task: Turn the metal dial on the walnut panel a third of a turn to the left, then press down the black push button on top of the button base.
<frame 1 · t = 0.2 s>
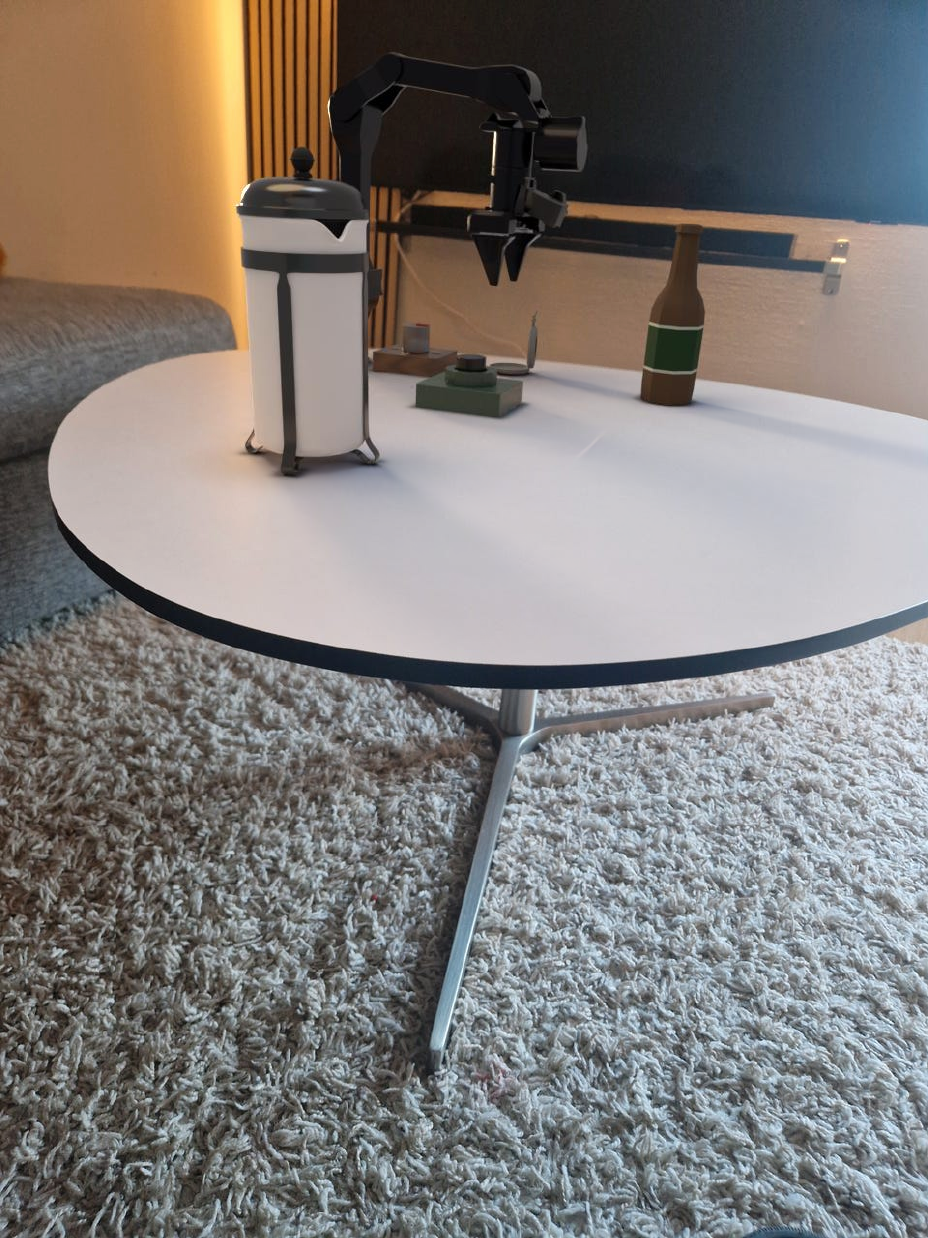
hand: (504, 283, 136), 14 cm above the table, tool pointing down, fingers open, 9 cm apart
dial: (416, 336, 144), point 5 cm above the table, hinge at 0.0°
pocket watch: (515, 374, 148), on the table
button base: (469, 405, 124), on the table
dial panel: (415, 369, 146), on the table
coffee press: (304, 456, 98), on the table
push button: (471, 363, 122), point 6 cm above the table, slide at 0.1 cm
beer bottle: (665, 401, 133), on the table
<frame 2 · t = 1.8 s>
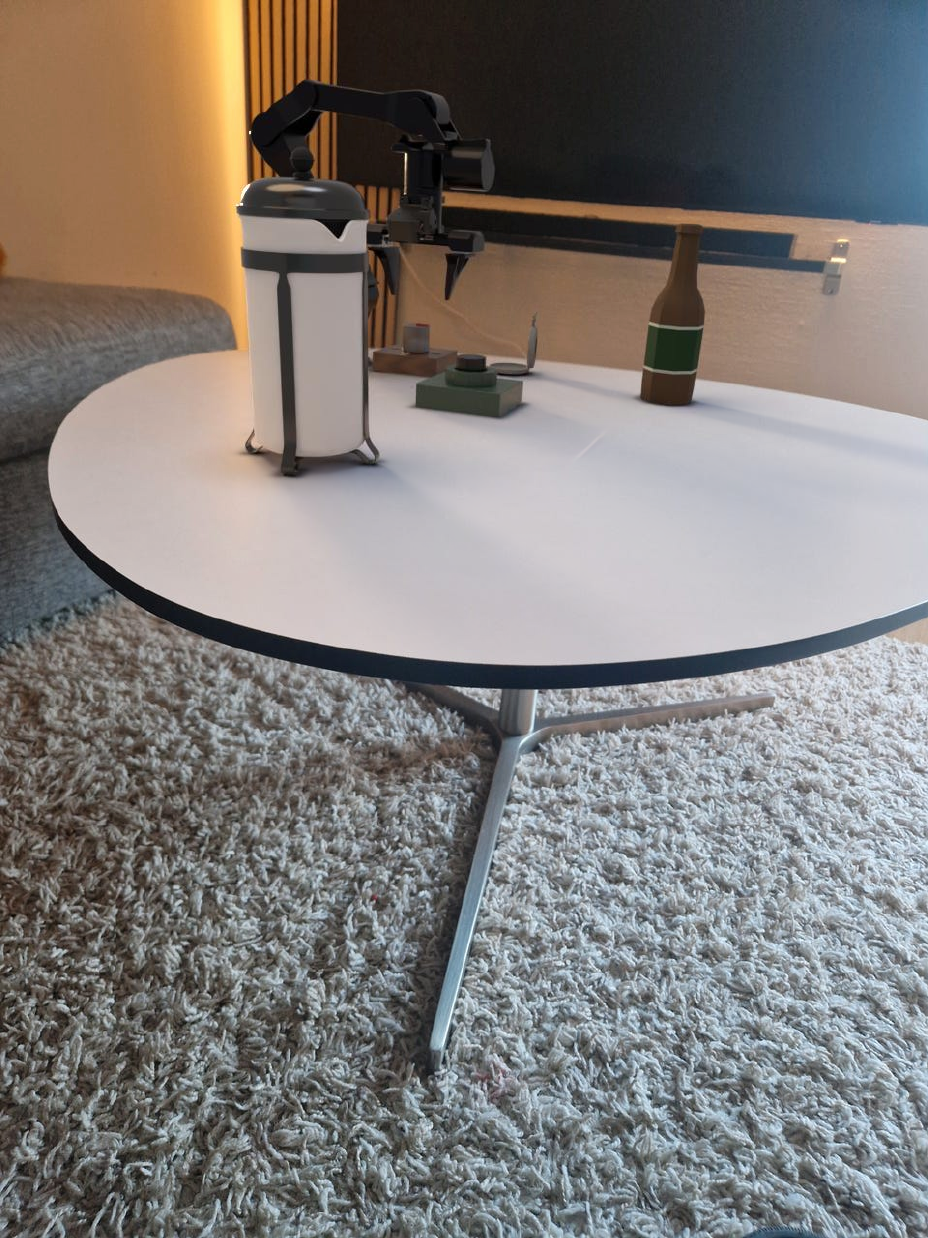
hand: (420, 297, 141), 11 cm above the table, tool pointing down, fingers open, 9 cm apart
nothing on the table moved.
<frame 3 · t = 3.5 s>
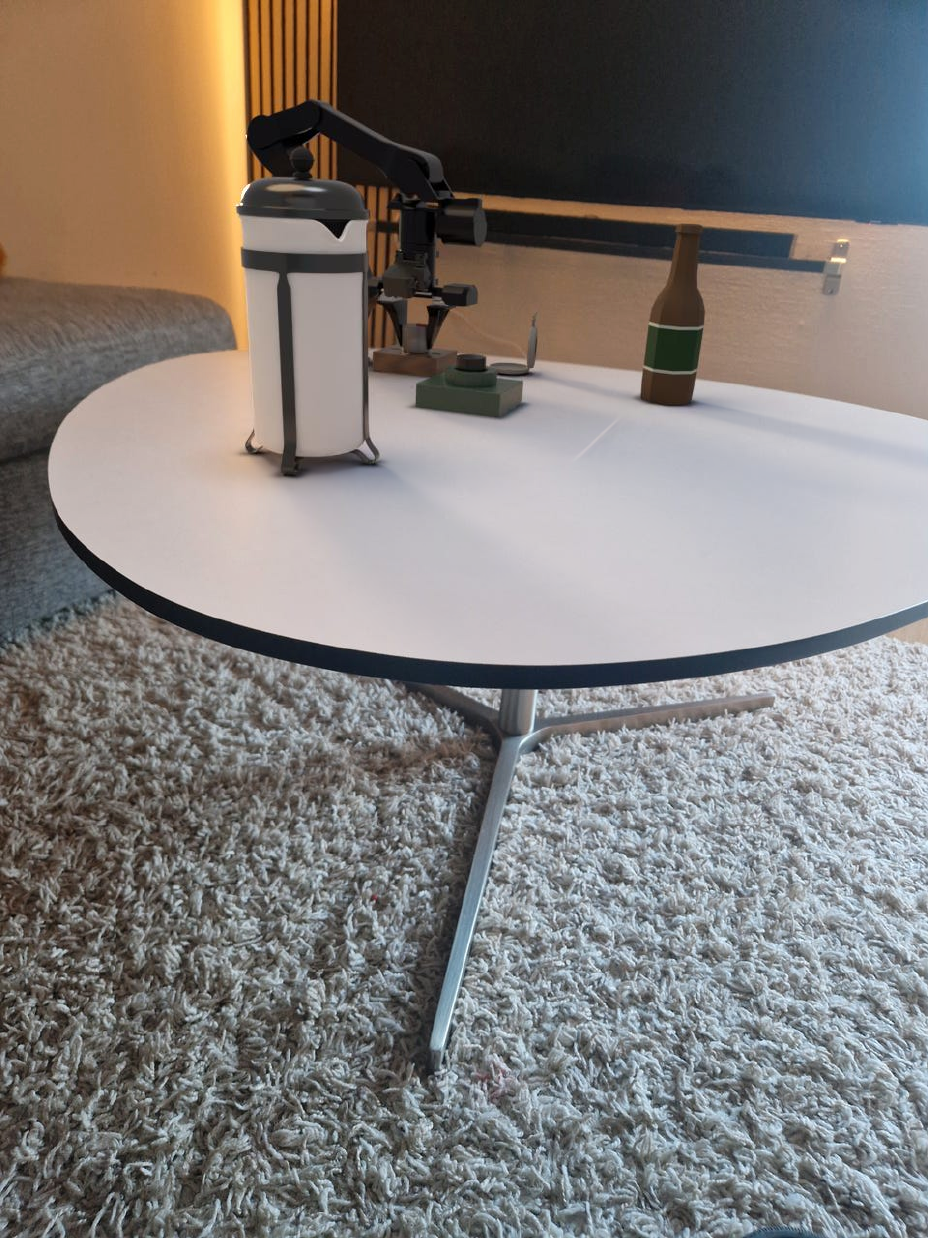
hand: (415, 347, 145), 4 cm above the table, tool pointing down, fingers closed on dial, 4 cm apart
dial: (416, 336, 144), point 5 cm above the table, hinge at 0.0°, touching gripper
everything else where it was.
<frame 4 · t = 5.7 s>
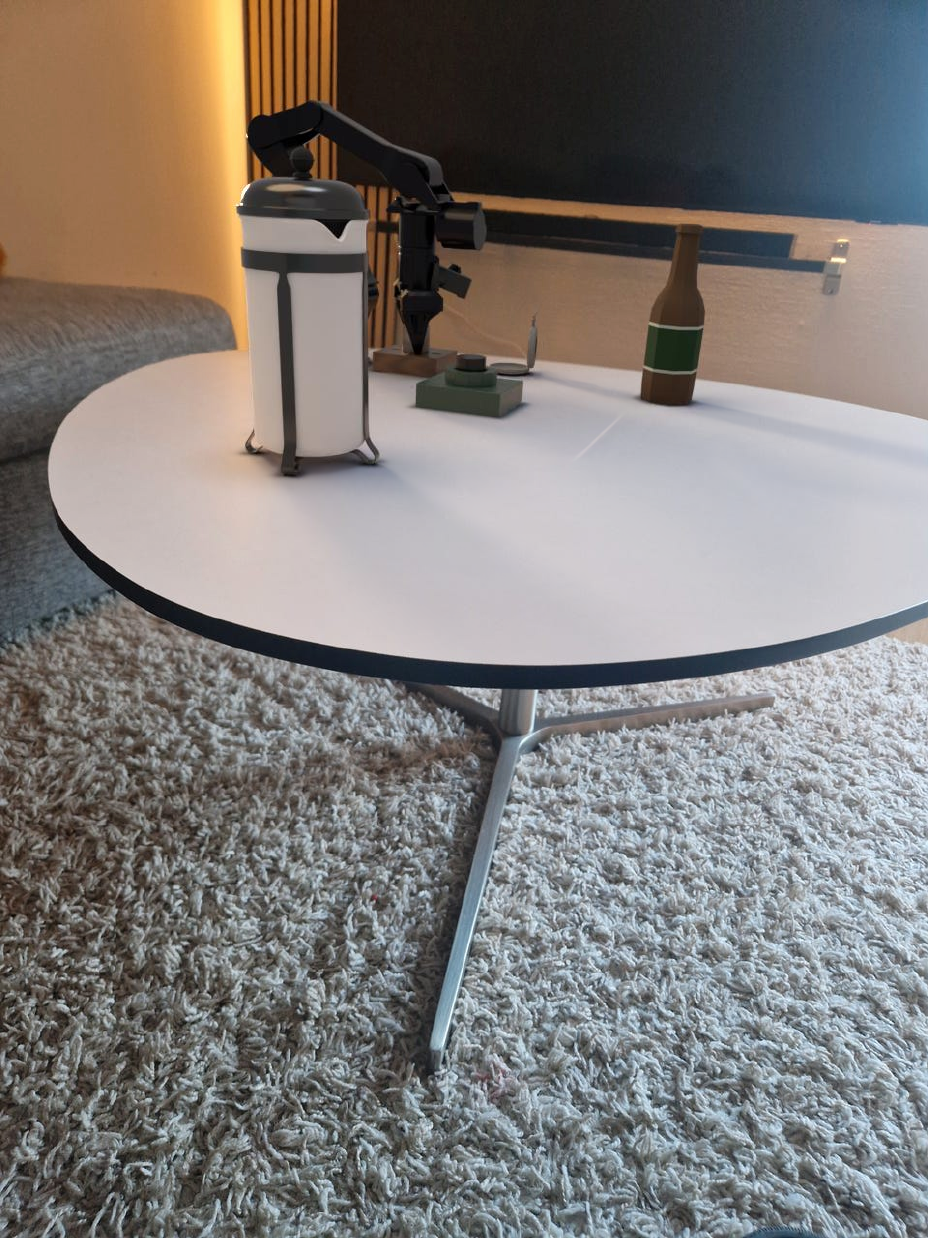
hand: (415, 350, 145), 3 cm above the table, tool pointing down, fingers open, 6 cm apart
dial: (416, 336, 144), point 5 cm above the table, hinge at 120.6°
everything else where it was.
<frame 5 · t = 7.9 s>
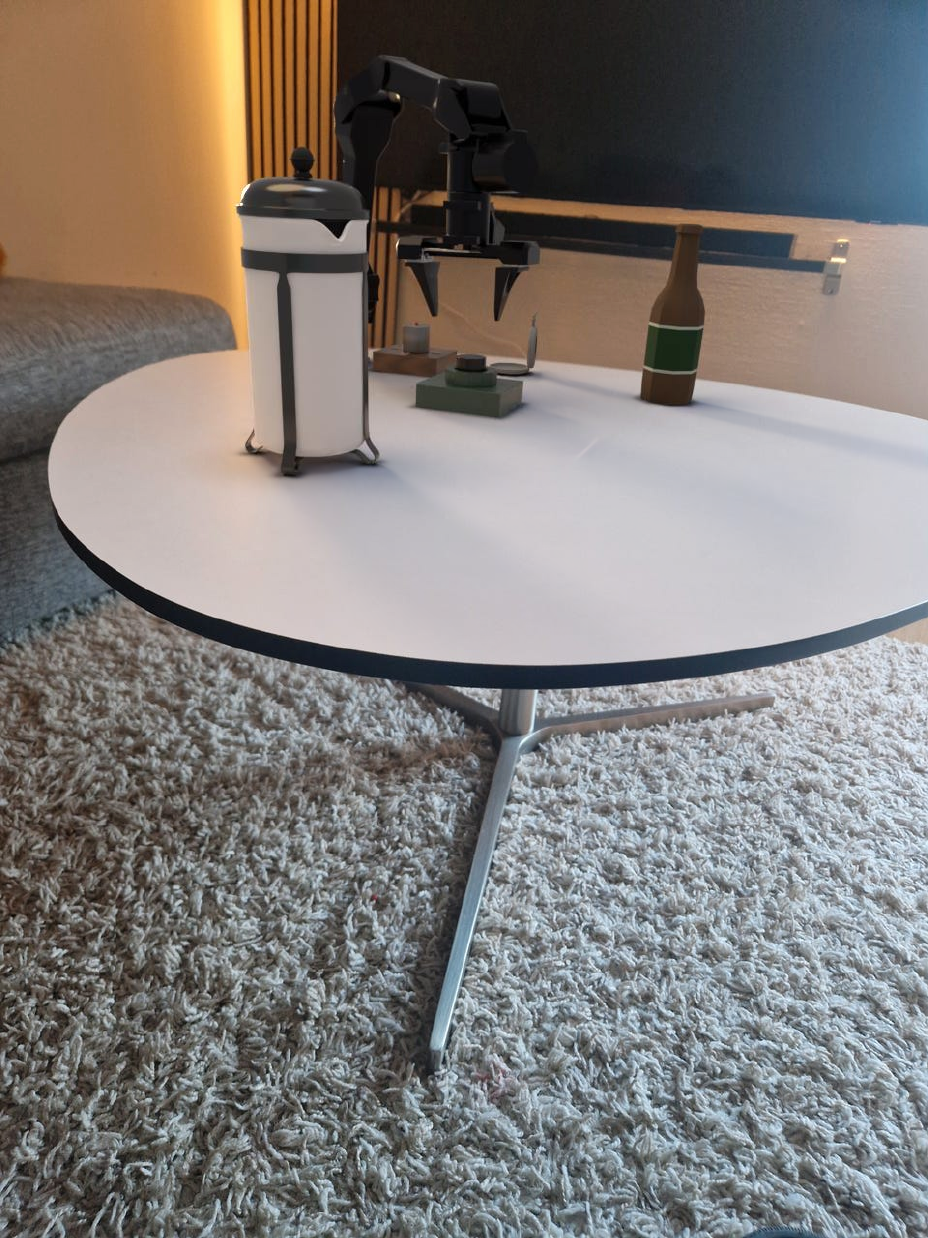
hand: (465, 318, 123), 11 cm above the table, tool pointing down, fingers open, 9 cm apart
nothing on the table moved.
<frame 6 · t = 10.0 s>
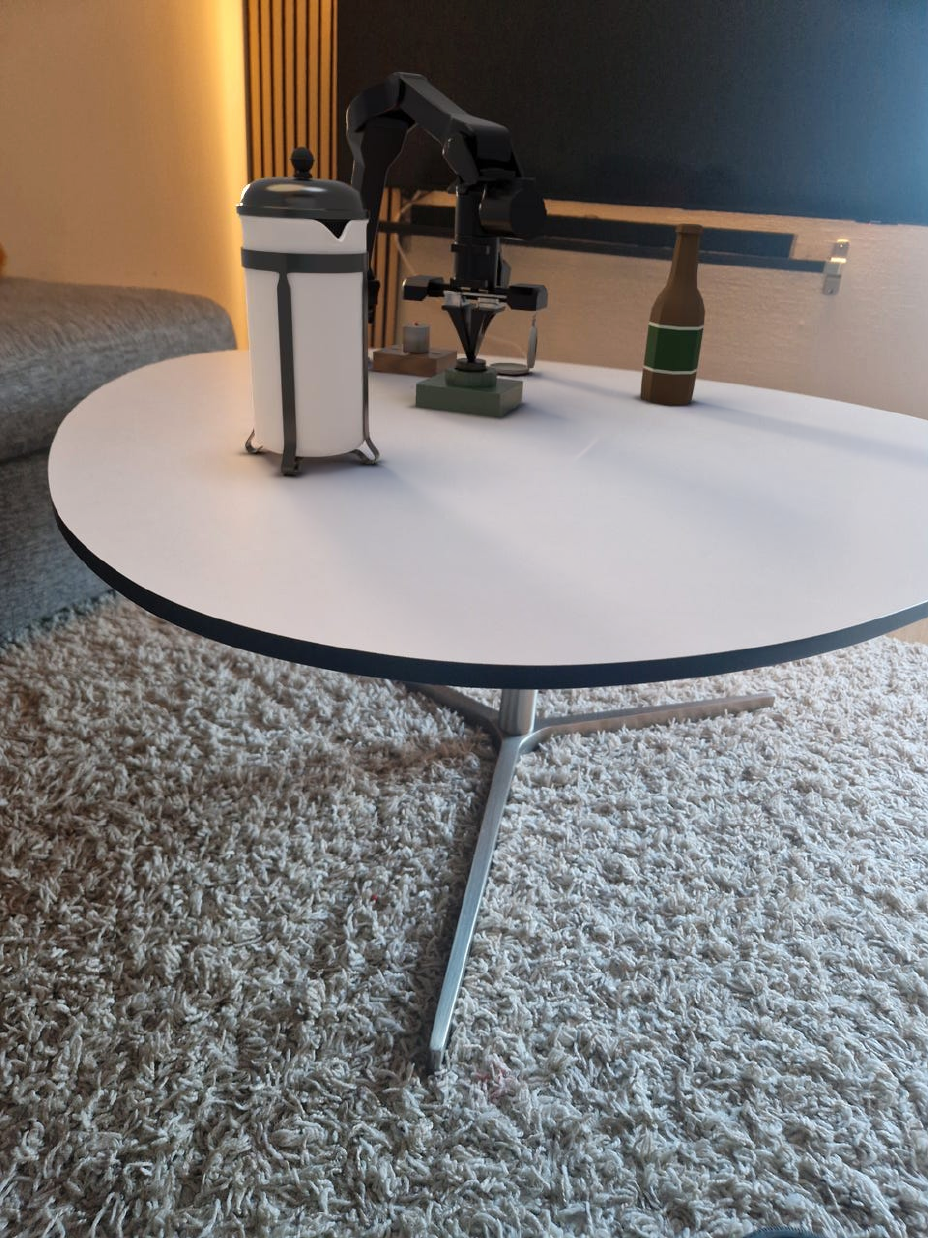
hand: (471, 360, 121), 6 cm above the table, tool pointing down, fingers closed, pressing on push button
push button: (471, 367, 122), point 5 cm above the table, slide at -0.4 cm, touching gripper
everything else where it was.
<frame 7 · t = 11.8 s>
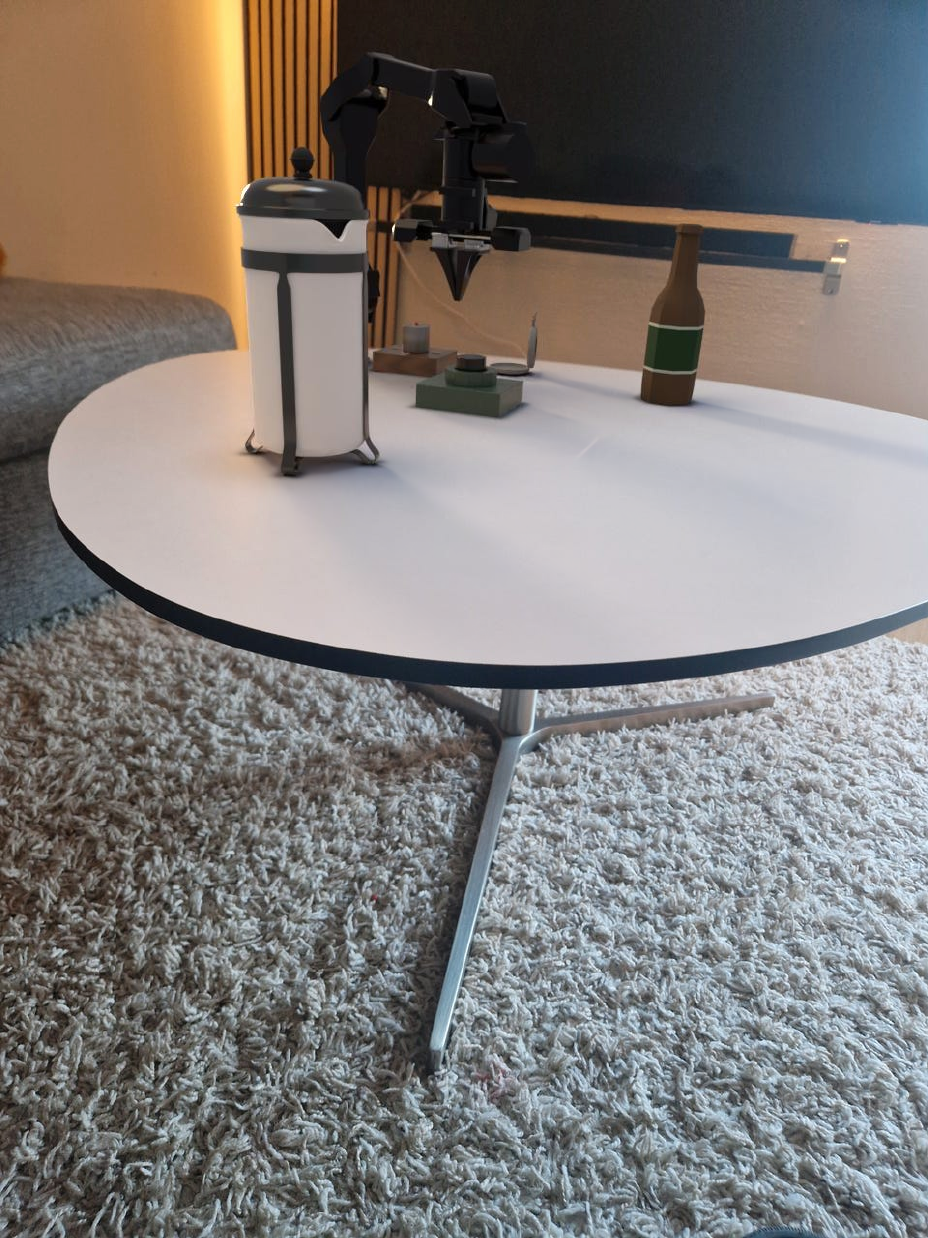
hand: (457, 300, 128), 13 cm above the table, tool pointing down, fingers closed
push button: (471, 363, 122), point 6 cm above the table, slide at 0.1 cm
everything else where it was.
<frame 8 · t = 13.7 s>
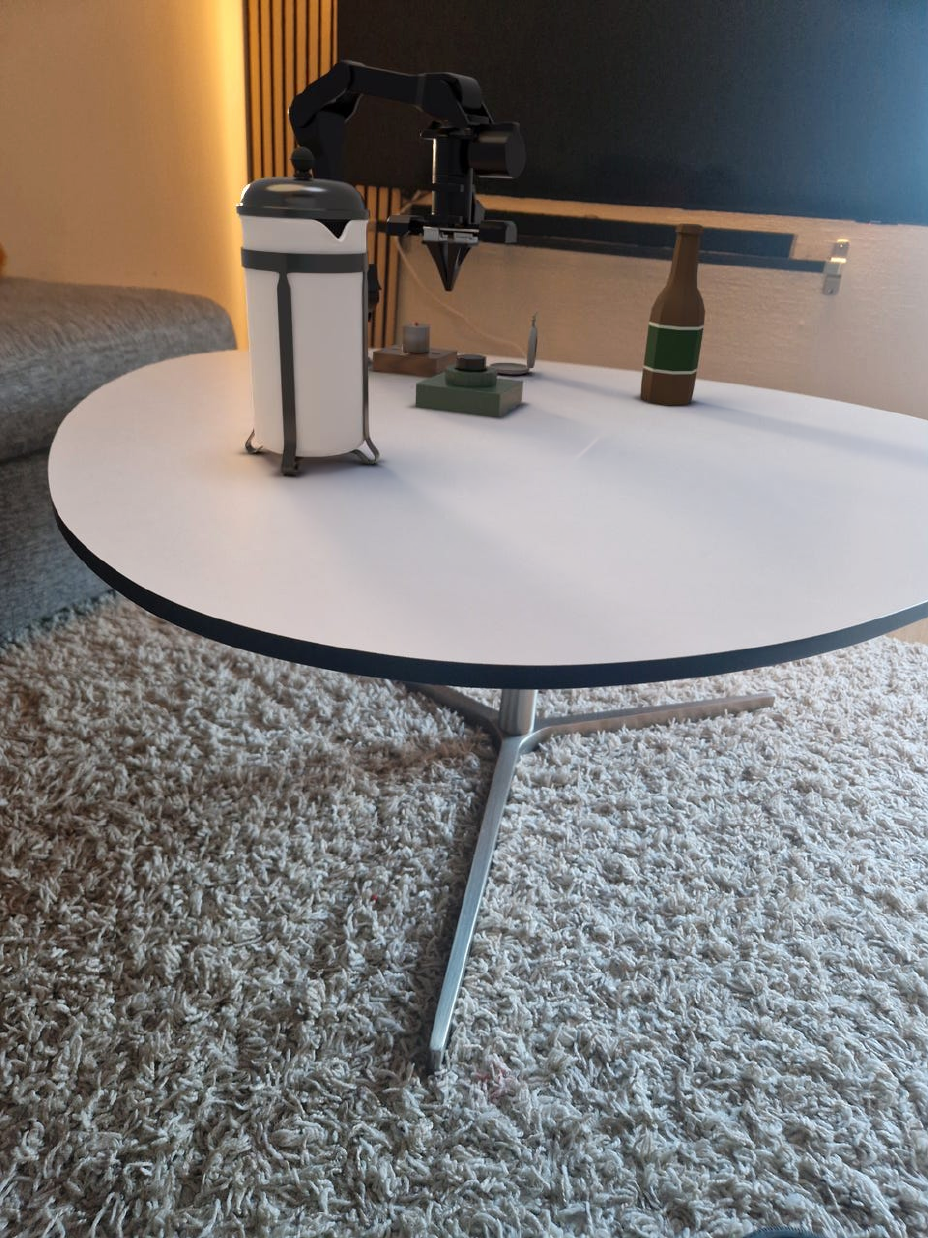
hand: (449, 291, 135), 13 cm above the table, tool pointing down, fingers closed
nothing on the table moved.
at the end: dial at +121° (first picture: +0°); push button pushed in 1.1 cm at the most during the clip, back to where it started at the end; push button slide at 0.1 cm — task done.
